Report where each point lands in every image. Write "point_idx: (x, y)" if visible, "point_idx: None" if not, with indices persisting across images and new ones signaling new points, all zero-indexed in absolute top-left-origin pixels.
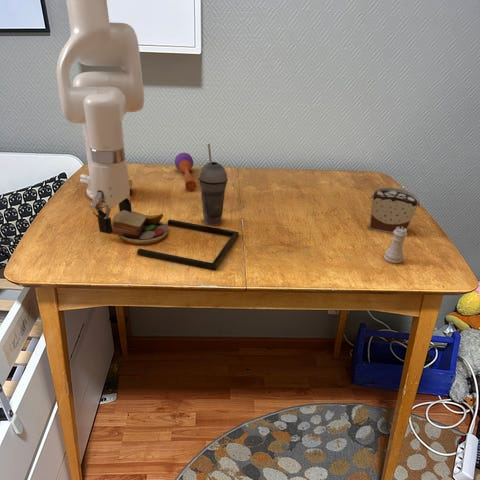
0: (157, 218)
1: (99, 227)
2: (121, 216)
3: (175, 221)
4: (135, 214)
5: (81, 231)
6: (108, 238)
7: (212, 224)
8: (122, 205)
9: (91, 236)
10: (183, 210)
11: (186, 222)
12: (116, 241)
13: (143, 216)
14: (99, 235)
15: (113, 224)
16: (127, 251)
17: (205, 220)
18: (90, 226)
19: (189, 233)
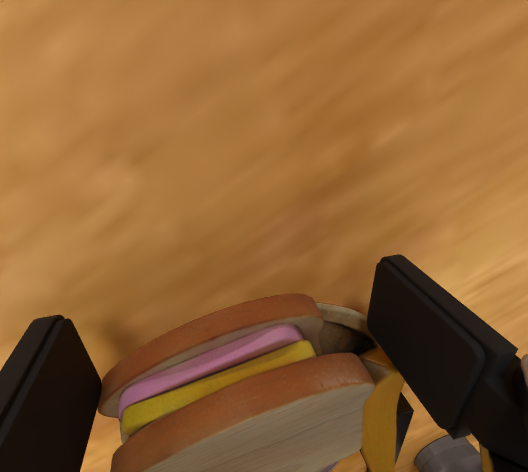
0: (364, 459)
1: (17, 351)
2: (244, 448)
3: (398, 433)
4: (345, 433)
5: (36, 16)
6: (110, 304)
7: (416, 465)
8: (442, 359)
9: (36, 187)
10: (522, 357)
11: (398, 455)
12: (112, 357)
13: (343, 454)
14: (102, 229)
15: (126, 430)
16: None
17: (431, 461)
18: (194, 41)
19: (341, 463)
